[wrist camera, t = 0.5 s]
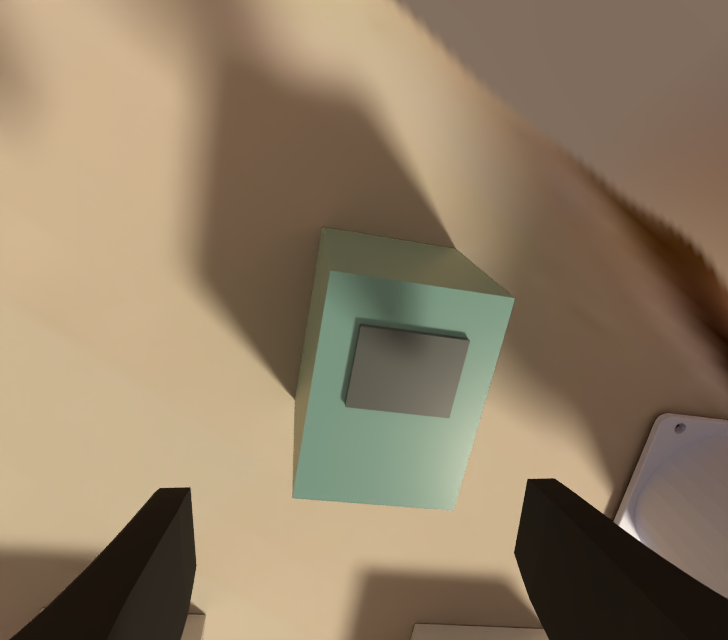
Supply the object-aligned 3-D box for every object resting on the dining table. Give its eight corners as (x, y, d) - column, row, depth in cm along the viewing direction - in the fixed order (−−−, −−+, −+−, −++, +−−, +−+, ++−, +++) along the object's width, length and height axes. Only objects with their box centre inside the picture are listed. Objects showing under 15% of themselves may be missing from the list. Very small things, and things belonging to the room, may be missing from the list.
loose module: (455, 248, 20) (518, 300, 14) (415, 412, 22) (455, 515, 16) (321, 226, 19) (330, 272, 13) (294, 399, 21) (292, 502, 16)
